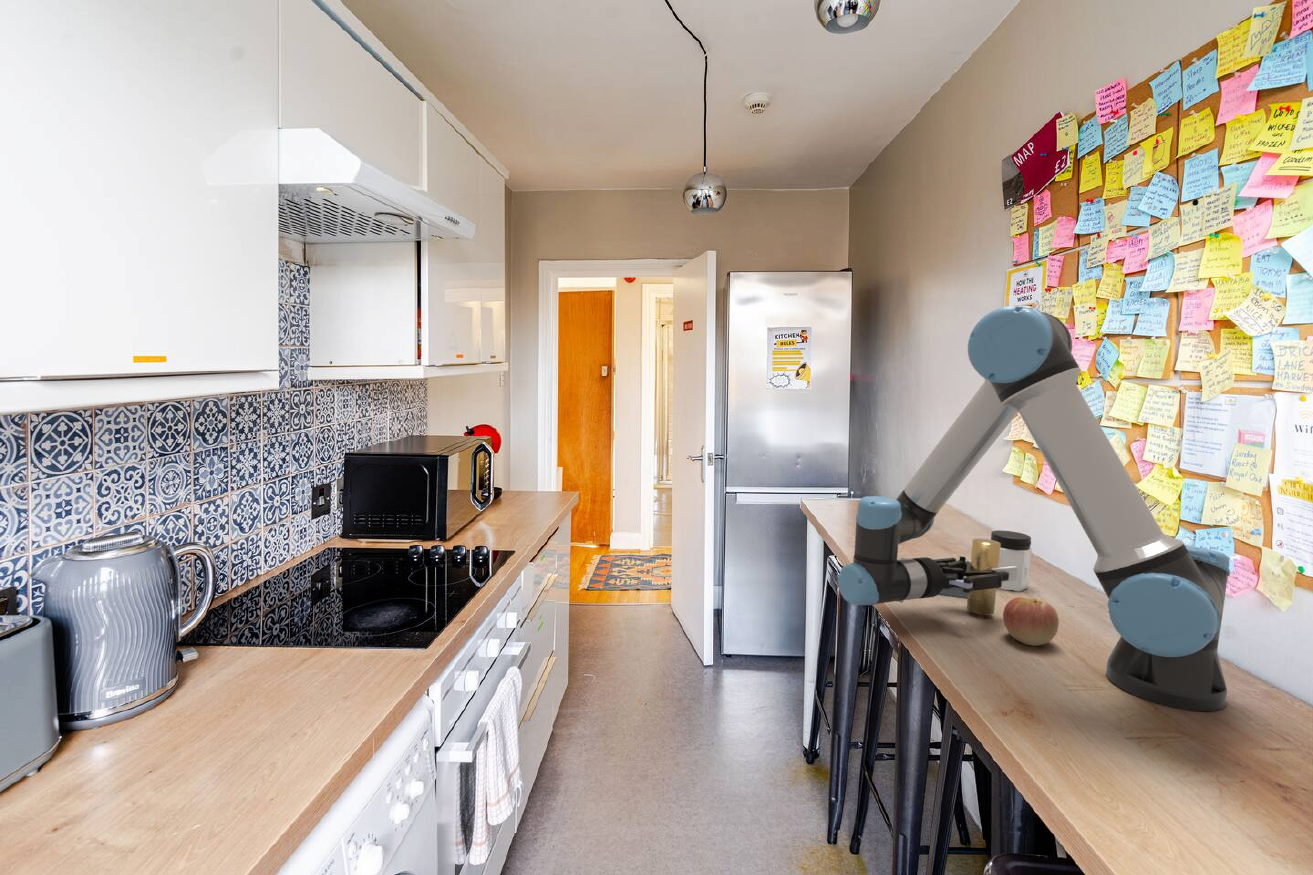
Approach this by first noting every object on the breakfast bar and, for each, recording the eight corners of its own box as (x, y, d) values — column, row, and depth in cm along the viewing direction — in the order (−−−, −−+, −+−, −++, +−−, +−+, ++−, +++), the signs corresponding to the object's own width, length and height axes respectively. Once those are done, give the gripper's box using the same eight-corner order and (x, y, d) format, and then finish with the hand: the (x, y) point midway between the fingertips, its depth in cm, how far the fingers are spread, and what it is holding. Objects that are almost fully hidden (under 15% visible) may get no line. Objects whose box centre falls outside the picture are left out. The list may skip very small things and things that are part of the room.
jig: (972, 598, 146) (973, 585, 146) (903, 589, 150) (904, 576, 150) (962, 577, 161) (963, 565, 161) (899, 569, 165) (900, 557, 165)
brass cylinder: (996, 616, 133) (1002, 546, 132) (968, 612, 135) (974, 543, 133) (991, 607, 138) (998, 540, 137) (965, 604, 139) (971, 537, 138)
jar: (1018, 594, 151) (1023, 541, 149) (980, 584, 157) (985, 533, 155) (1031, 586, 157) (1037, 535, 156) (994, 577, 163) (999, 528, 161)
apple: (1023, 652, 118) (1028, 608, 118) (990, 632, 127) (994, 591, 126) (1067, 651, 120) (1072, 607, 119) (1031, 631, 129) (1035, 590, 128)
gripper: (879, 583, 137) (965, 574, 146) (949, 614, 121) (1041, 601, 130) (882, 546, 136) (968, 539, 145) (953, 573, 120) (1045, 563, 129)
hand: (1002, 569), depth 138 cm, fingers closed on brass cylinder, 5 cm apart
